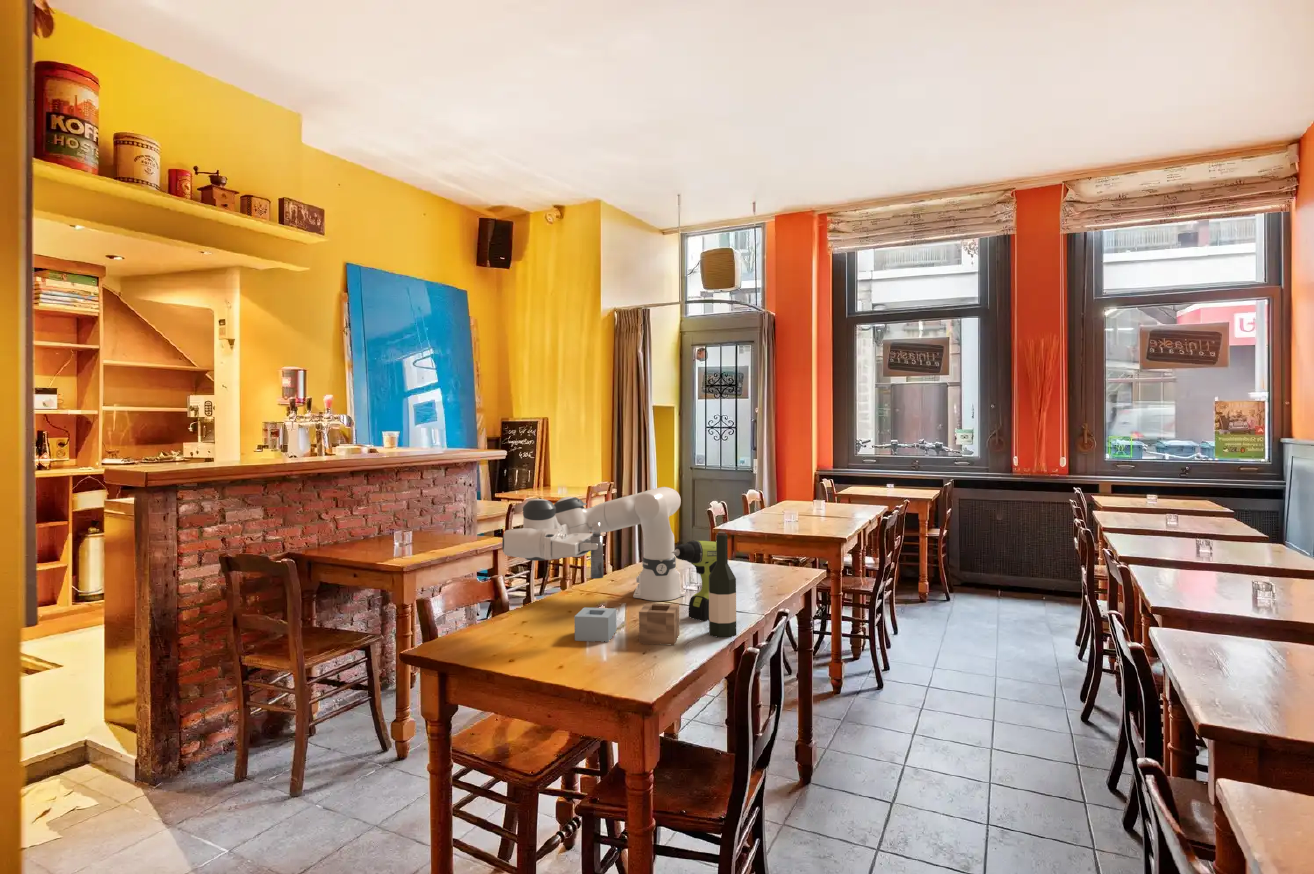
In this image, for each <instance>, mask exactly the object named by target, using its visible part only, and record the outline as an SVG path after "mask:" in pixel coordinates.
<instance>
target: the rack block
mask: <svg viewBox="0 0 1314 874" xmlns="http://www.w3.org/2000/svg"><path fill="white" fill-rule="evenodd" d="M638 629H639V630H638V632H639V633H638V636H639V639H638V642H639V643H643V644H644V645H659V644H671V645H670V646H675V645H674V644H676V643H677V640H678V639H677V638H679V637H678V636H680V604H678V603H655V602H653V603H652V602H645V603H644V605H643V606H642V607H641V608H640V610H639V611H638ZM643 644H642V645H643Z"/></svg>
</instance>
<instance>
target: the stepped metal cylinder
mask: <svg viewBox="0 0 1314 874" xmlns="http://www.w3.org/2000/svg"><path fill="white" fill-rule="evenodd" d="M591 534H592V536H590V543H598V549H597V550H590V578H591V579H595V580H597V579H603V578H604V537H603V535H602V532H601V527H600V522H593V523H592V532H591Z"/></svg>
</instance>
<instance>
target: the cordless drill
mask: <svg viewBox="0 0 1314 874" xmlns="http://www.w3.org/2000/svg"><path fill="white" fill-rule="evenodd" d="M672 553H674V556H675V557H676V560H677V559H678V560H681V561H686V562H688V563H690V564H692V565H693V567H695V570H696V571H695V572H696V574H699V576H700V578H701V589H700V590H699V592H697V593H694V594H693V595H692V596H691V597H690V600H689V603H688V618H690V617H691V618H690V619H692V618H694V619H693V620H696V619H697V621H700V620H701V621H700V622H707V620H708V621H709V575H710V573H711V572H712V570H713V568H714V566H715V565H716V563H717V556H716V541H709V540H691V541H690V540H689V541H687V542H686V543H682V544H678V545H676V547H674V551H673V552H672Z"/></svg>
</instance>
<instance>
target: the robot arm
mask: <svg viewBox="0 0 1314 874" xmlns="http://www.w3.org/2000/svg"><path fill="white" fill-rule="evenodd" d="M681 501H682V500H681V496H680V493H679V492H678V490H676V489H674V488H672V487H668V486H661V487H657V488H652V489H648V490H645V491H641V492H638V493H634V494H630V495H626V496H623V497H619V498H615V499H612V500H607V501H604V502H602V503H599V504H595V505H594V506H591V507H588V508H587V507H584V506H587V505H588V504H587V502H583V500H582V499H580V498H578V497H576V496H565V497H562V498H560V499H559V500H557V501H556V502H554V503H553V502H552V501H550V500H548V499H543V498H534V499H531V500H528V501H527V502H526V503H525V504H524V505H523V506H522V517H523V521H522V524H523V525H522V528H513V529H512V528H511V529H506V530H505V531H504V532H503V535H502V540H501V541H502V542H501V544H502V545H501V546H502V547H501V548H502V552H503V554H504V555H505V556H509V557H513V558H522V559H525V560H527V561H538V562H540V561H541V562H542V561H551V560H560V559H561V558H571V557H572V558H578V557H583V556H585V555H587V553H590V552H591V550H597V549H598V543H590V536H592V523H593V522H600V527H601V533H609V532H613V531H614V532H615V531H618V530H621V529H626V528H630V527H635V526H638V525H640V526H641V530H642V535H643V537H642V539H643V557H642V561H641V562H642V570H641V572H640V573H639V574H638V575H637V576H636V578H635V579H636V582H635V583H637V586H636V588H635V589H634V592H633V595H632V596H633V598H634V599H643V600H646V601H656V602H657V601H658V602H659V601H661V602H663V601H671V600H675V599H676V600H677V599H679V598H680V597H684V596H686V592H685V591H684V590H682V587H681V585H682V584H681V573H680V571H678V569H677V568H676V566H677V558H676V556H675V555H674V553H672V552H673V551H674V550H675V535H674V532H673V531H672V528H671V524H670V523H671V522H670V516H671V517H672V516H674V514H675V513H677V511H678V510H679V509H680V507H681V503H682V502H681Z"/></svg>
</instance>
